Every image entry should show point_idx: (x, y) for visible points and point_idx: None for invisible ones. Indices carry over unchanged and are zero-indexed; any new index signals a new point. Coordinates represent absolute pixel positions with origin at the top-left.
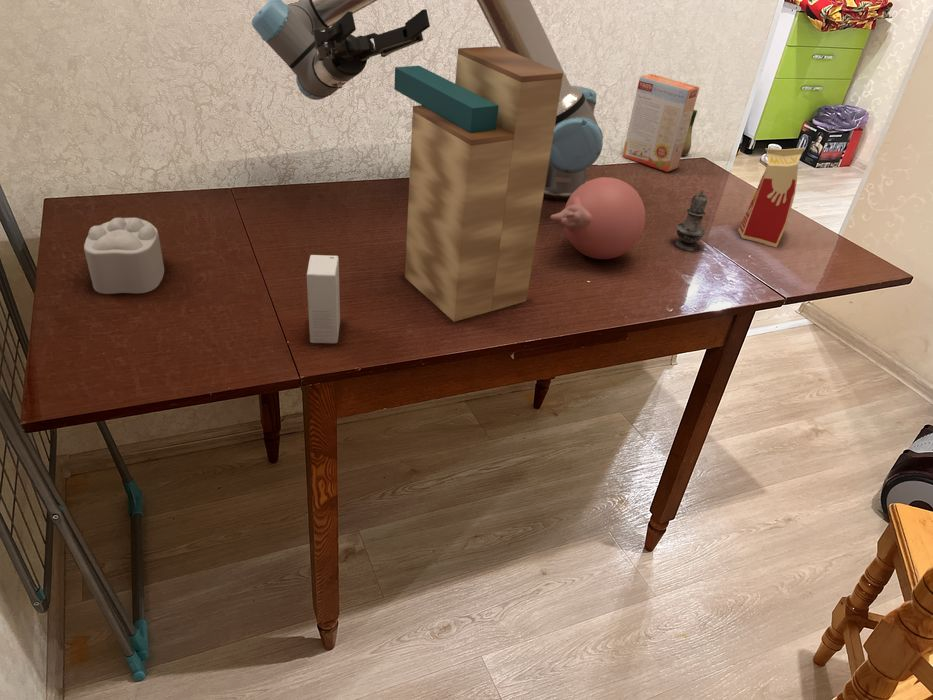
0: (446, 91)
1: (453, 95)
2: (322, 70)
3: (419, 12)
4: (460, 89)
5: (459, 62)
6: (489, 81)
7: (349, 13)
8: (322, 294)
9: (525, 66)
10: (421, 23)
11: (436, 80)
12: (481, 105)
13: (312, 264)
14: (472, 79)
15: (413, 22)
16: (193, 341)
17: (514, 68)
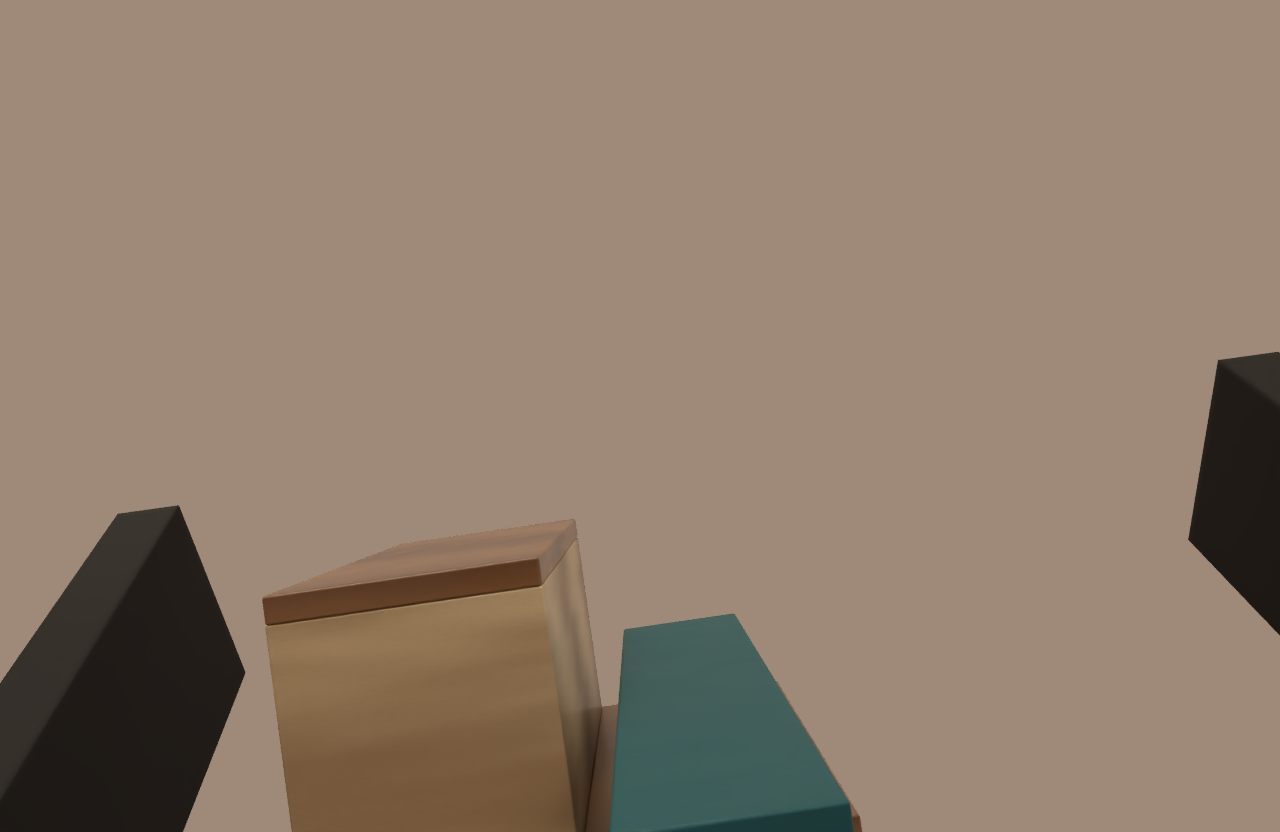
0: (734, 656)
1: (731, 643)
2: None
3: (147, 565)
4: (652, 669)
5: (549, 622)
6: (573, 603)
7: (1255, 374)
8: None
9: (464, 540)
10: (192, 687)
11: (691, 705)
12: (687, 623)
13: None
14: (567, 651)
15: (75, 790)
16: None
17: (529, 530)
